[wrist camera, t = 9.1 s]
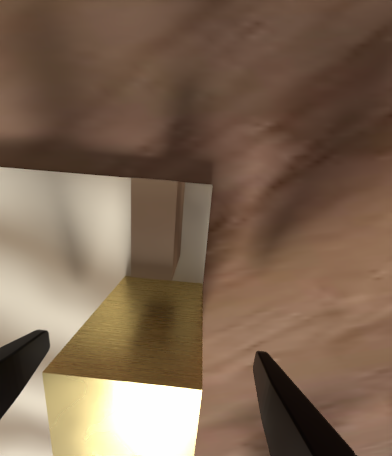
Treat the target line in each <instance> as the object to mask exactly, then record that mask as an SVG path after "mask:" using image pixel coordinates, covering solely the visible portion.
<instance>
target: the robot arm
mask: <svg viewBox="0 0 392 456" xmlns="http://www.w3.org/2000/svg"><path fill="white" fill-rule="evenodd" d="M49 349H50V339H49V332H48V331H47V330H40V329H39V330H35V331H33V332H31V333H29V334H27V335H25V336H23V337H21V338H18V339H16V340H14V341H12V342H10V343H8V344H6V345H4V346H2V347H0V420H1V418H2V417H3V416H4V414H5V413H6V412H7V411H8V409H9V408H10V407H11V405H12V404H13V403H14V401H15V400H16V399H17V397H18V396H19V395H20V393H21V392H22V390H23V389H24V388H25V386H26V385H27V383H28V382H29V380H30V379H31V377H32V376H33V374H34V373H35V371H36V369H37V368H38V366H39V365H40V363H41V362H42V360H43V359H44V357H45V356H46V354H47V353H48V351H49ZM253 373H254V379H255V385H256V391H257V397H258V403H259V409H260V414H261V420H262V424H263V428H264V432H265V436H266V440H267V444H268V448H269V452H270V455H271V456H357V455H355V453H354V451H353V450H352V449H351V448H350V447H349V445H348V444H347V443H346V442H345V441H344V440H343V439H342V437H341V436H340V435H339V434H338V433H337V432H336V431H335V429H334V428H333V427H332V426H331V425H330V424H329V423H328V421H327V420H326V419H325V418H324V417H323V416H322V415H321V413H320V412H319V411H318V410H317V409H316V408H315V407H314V405H313V404H312V403H311V402H310V401H309V400H308V399H307V397H306V396H305V395H304V394H303V393H302V392H301V391H300V389H299V388H298V387H297V386H296V385H295V384H294V383H293V382H292V380H291V379H290V378H289V377H288V376H287V375H286V374H285V372H284V371H283V370H282V369H281V368H280V367H279V366H278V364H277V363H276V362H275V361H274V360H273V359H272V358H271V356H270V355H269V354H268V353H267V352H264V351H257V352H256V354H255V359H254V365H253Z"/></svg>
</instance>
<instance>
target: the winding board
mask: <svg viewBox="0 0 392 456" xmlns="http://www.w3.org/2000/svg"><path fill="white" fill-rule="evenodd" d="M212 186H213V185H209V184H197V183H185V182H179V181H169V180H157V179H145V178H133V177H131V178H125V177H113V176H101V175H89V174H77V173H65V172H53V171H41V170H29V169H17V168H5V167H0V347H2V346H4V345H6V344H8V343H10V342H12V341H14V340H16V339H18V338H21V337H23V336H25V335H27V334H29V333H31V332H33V331H35V330H39V329H40V330H47V331H48V332H49V339H50V349H49V351H48V353H47V354H46V356H45V357H44V359H43V360H42V362H41V363H40V365H39V366H38V368H37V369H36V371H35V373H34V374H33V376H32V377H31V379H30V380H29V382H28V383H27V385H26V386H25V388H24V389H23V390H22V392H21V393H20V395H19V396H18V397H17V399H16V400H15V401H14V403H13V404H12V405H11V407H10V408H9V409H8V411H7V412H6V413H5V414H4V416H3V417H2V418H1V420H0V456H53V453H52V446H51V438H50V430H49V423H48V415H47V407H46V399H45V392H44V384H43V376H42V372H43V371H44V370H45V368H46V367H47V366H48V365H49V364H50V363H51V362H52V360H53V359H54V358H55V357H56V356H57V355H58V353H59V352H60V351H61V350H62V349H63V348H64V346H65V345H66V344H67V343H68V342H69V341H70V339H71V338H72V337H73V336H74V335H75V334H76V332H77V331H78V330H79V329H80V328H81V327H82V325H83V324H84V323H85V322H86V321H87V320H88V319H89V317H90V316H91V315H92V314H93V313H94V312H95V310H96V309H97V308H98V307H99V306H100V305H101V303H102V302H103V301H104V300H105V299H106V298H107V296H108V295H109V294H110V293H111V292H112V291H113V289H114V288H115V287H116V286H117V285H118V284H119V282H120V281H121V280H122V279H123V278H124V277H125V276H131V277H137V278H148V279H159V280H170V281H181V282H191V283H201V284H203V277H204V267H205V257H206V247H207V237H208V227H209V217H210V207H211V196H212Z"/></svg>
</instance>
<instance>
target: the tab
mask: <svg viewBox="0 0 392 456" xmlns="http://www.w3.org/2000/svg"><path fill="white" fill-rule="evenodd" d="M202 289H203V284H201V283H191V282H181V281H170V280H159V279H148V278H137V277H131V276H125V277H124V278H123V279H122V280H121V281H120V282H119V284H118V285H117V286H116V287H115V288H114V289H113V291H112V292H111V293H110V294H109V295H108V296H107V298H106V299H105V300H104V301H103V302H102V303H101V305H100V306H99V307H98V308H97V309H96V310H95V312H94V313H93V314H92V315H91V316H90V317H89V319H88V320H87V321H86V322H85V323H84V324H83V325H82V327H81V328H80V329H79V330H78V331H77V332H76V334H75V335H74V336H73V337H72V338H71V339H70V341H69V342H68V343H67V344H66V345H65V346H64V348H63V349H62V350H61V351H60V352H59V353H58V355H57V356H56V357H55V358H54V359H53V360H52V362H51V363H50V364H49V365H48V366H47V367H46V368H45V370H44V371H43V372H42V376H43V384H44V392H45V399H46V407H47V415H48V423H49V430H50V438H51V446H52V453H53V456H194V450H195V442H196V434H197V427H198V419H199V411H200V403H201V396H202Z"/></svg>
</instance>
